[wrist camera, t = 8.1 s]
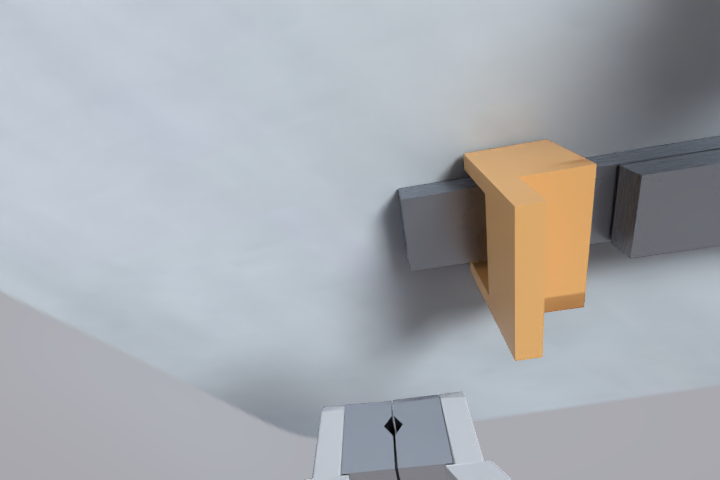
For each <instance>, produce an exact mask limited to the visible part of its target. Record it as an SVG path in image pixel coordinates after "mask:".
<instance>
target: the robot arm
mask: <svg viewBox="0 0 720 480" xmlns="http://www.w3.org/2000/svg"><path fill="white" fill-rule="evenodd" d="M395 426H396V427H395ZM305 480H512V479H511V478H510V477H509V476H508V475H507V474H506V473H504V472H503V471H502V470H501V469H500V468H499V467H498V466H497V465H496V464H495V463H494V462H493V461H484V459H483V456H482V453H481V449H480V446H479V442H478V439H477V435H476V432H475V428H474V425H473V422H472V418H471V415H470V411H469V408H468V404H467V401H466V398H465V395H464V394H463V392H455V393H447V394H439V395H430V396H422V397H414V398H406V399H398V400H393V406H392V402H391V401H384V402H373V403H361V404H350V405H343V406H332V407H323V410H322V412H321V416H320V423H319V431H318V438H317V447H316V454H315V461H314V470H313V477H312V478H311V479H305Z"/></svg>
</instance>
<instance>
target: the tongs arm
mask: <svg viewBox="0 0 720 480" xmlns="http://www.w3.org/2000/svg"><path fill="white" fill-rule="evenodd" d="M611 243H612V244H613V245H614V246H616V247H617V248H618V249H619V250H621V251H622V252H623V253H624V254H626V255H627V256H628V257H629V258H636V257H643V256H650V255H657V254H664V253H671V252H678V251H684V250H691V249H698V248H705V247H712V246H719V245H720V149H718V150H711V151H705V152H699V153H693V154H687V155H680V156H674V157H668V158H662V159H655V160H649V161H643V162H637V163H631V164H624V165H620V169H619V177H618V186H617V195H616V204H615V212H614V221H613V230H612V239H611Z"/></svg>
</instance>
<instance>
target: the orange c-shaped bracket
mask: <svg viewBox="0 0 720 480" xmlns="http://www.w3.org/2000/svg"><path fill="white" fill-rule="evenodd" d="M463 157H464V170H465V171H466V172H467V173H468V174H469V175H470V177H471V178H472V179H473V180H474V181H475V182H476V184H477V185H478V186H479V187H480V188H481V190H482V191H483V192H484V193H485V202H486V230H487V257H488V260H484V261H478V262H471V263H470V271H471V273H472V275H473V277H474V279H475V281H476V283H477V285H478V287H479V289H480V291H481V293H482V295H483V297H484V299H485V301H486V303H487V305H488V307H489V309H490V311H491V313H492V315H493V317H494V319H495V321H496V323H497V325H498V327H499V329H500V331H501V333H502V335H503V337H504V339H505V341H506V343H507V345H508V347H509V349H510V351H511V353H512V355H513V357H514V359H515V361H517V360H525V359H532V358H540V357H542V355H543V327H544V313H545V312H552V311H559V310H566V309H573V308H580V307H584V302H585V290H586V279H587V268H588V257H589V245H590V234H591V223H592V211H593V200H594V189H595V177H596V166H597V164H596V163H594V162H592V161H590V160H588V159H586V158H584V157H582V156H580V155H578V154H576V153H574V152H572V151H570V150H568V149H566V148H564V147H562V146H560V145H558V144H556V143H554V142H552V141H550V140H548V139H546V140H540V141H534V142H528V143H522V144H516V145H511V146H505V147H499V148H493V149H487V150H481V151H475V152H469V153H463Z"/></svg>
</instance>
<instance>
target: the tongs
mask: <svg viewBox="0 0 720 480" xmlns="http://www.w3.org/2000/svg"><path fill="white" fill-rule="evenodd" d="M718 149H720V136H716V137H710V138H704V139H697V140H691V141H685V142H679V143H673V144H667V145H661V146H655V147H649V148H643V149H637V150H631V151H625V152H619V153H613V154H606V155H600V156H594V157H588V158H586V159H588V160H590V161H592V162H594V163H596V164H597V166H596V177H595V189H594V200H593V211H592V223H591V234H590V245H591V244H597V243H604V242H611V239H612V230H613V221H614V212H615V204H616V195H617V186H618V177H619V169H620V165H624V164H631V163H637V162H643V161H649V160H655V159H662V158H668V157H674V156H680V155H687V154H693V153H699V152H705V151H711V150H718ZM398 192H399V199H400V207H401V214H402V221H403V229H404V236H405V244H406V251H407V258H408V262H409V266H410V270H411V271H418V270H425V269H431V268H438V267H444V266H451V265H458V264H464V263H471V262H478V261H484V260H488V257H487V230H486V202H485V193H484V192H483V191H482V190H481V188H480V187H479V186H478V185H477V184H476V182H475V181H474V180H473V179H472V178H471V177H467V178H461V179H455V180H449V181H443V182H437V183H431V184H424V185H418V186H412V187H406V188H400V189H398Z"/></svg>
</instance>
